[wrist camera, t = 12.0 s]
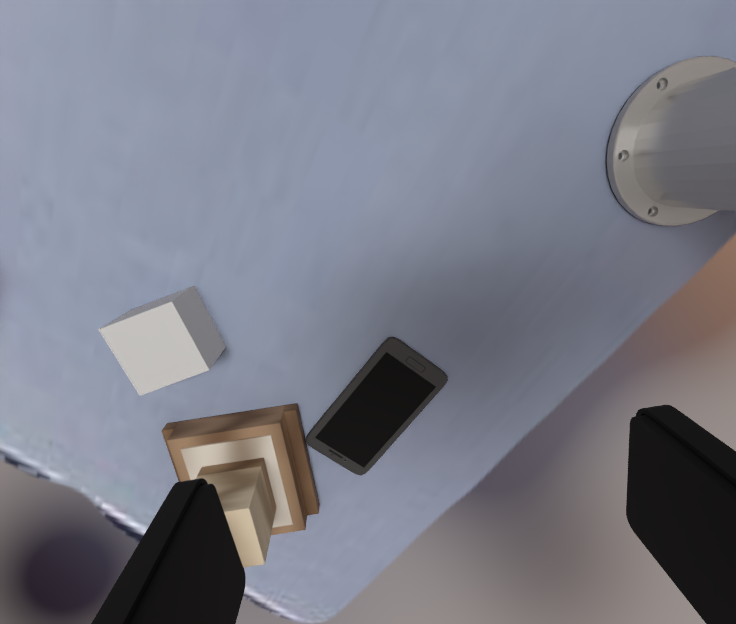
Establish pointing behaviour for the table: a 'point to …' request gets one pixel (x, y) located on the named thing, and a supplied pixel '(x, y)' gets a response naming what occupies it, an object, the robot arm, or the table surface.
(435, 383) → the cell phone
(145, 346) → the white cube
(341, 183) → the table surface
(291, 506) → the dock
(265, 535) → the tan cube
